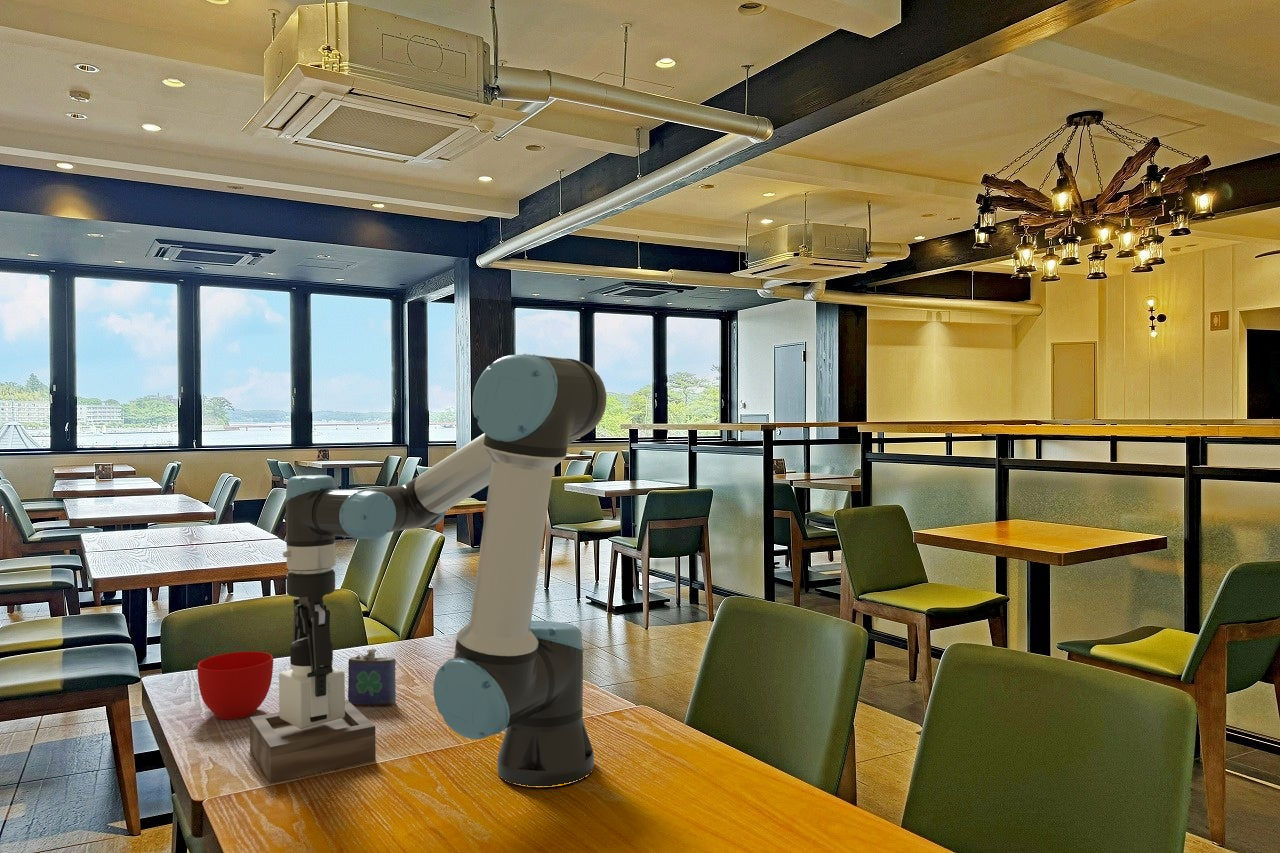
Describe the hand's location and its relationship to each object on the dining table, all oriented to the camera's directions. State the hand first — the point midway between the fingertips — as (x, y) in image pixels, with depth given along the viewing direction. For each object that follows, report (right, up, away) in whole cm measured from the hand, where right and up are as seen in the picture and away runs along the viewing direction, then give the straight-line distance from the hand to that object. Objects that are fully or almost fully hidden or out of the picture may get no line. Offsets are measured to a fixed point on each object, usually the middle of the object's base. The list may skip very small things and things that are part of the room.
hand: (311, 706), depth 144 cm
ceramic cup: (-23, -8, +22) cm, 33 cm away
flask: (+2, -8, +26) cm, 27 cm away
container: (0, -2, 0) cm, 2 cm away
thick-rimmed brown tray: (0, -8, 0) cm, 8 cm away
